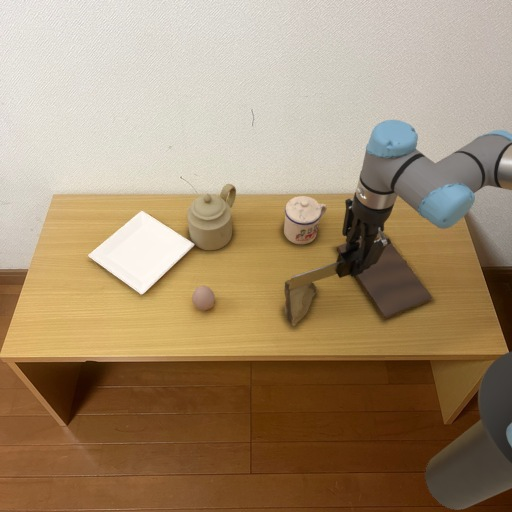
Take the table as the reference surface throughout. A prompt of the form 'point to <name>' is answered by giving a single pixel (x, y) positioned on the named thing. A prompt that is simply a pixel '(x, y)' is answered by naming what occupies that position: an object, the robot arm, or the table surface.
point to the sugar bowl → (211, 219)
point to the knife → (328, 269)
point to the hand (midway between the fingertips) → (352, 267)
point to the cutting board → (391, 283)
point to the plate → (141, 251)
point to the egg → (203, 298)
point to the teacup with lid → (302, 219)
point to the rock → (298, 301)
